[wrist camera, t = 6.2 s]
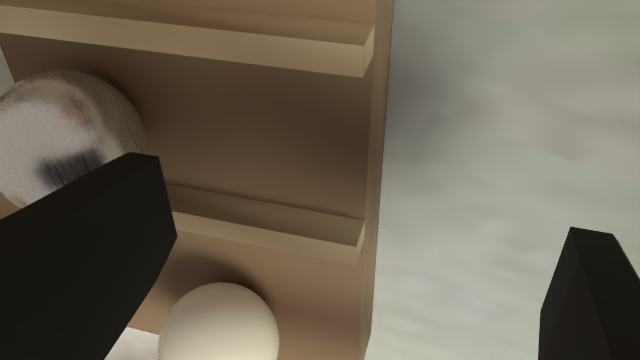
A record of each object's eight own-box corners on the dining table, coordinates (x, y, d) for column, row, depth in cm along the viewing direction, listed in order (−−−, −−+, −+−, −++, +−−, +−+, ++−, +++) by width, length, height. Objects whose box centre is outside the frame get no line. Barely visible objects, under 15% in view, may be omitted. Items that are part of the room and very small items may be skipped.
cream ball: (297, 343, 17) (259, 444, 15) (200, 320, 18) (148, 412, 15) (292, 271, 15) (247, 374, 13) (183, 248, 16) (121, 341, 13)
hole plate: (370, 332, 19) (350, 411, 17) (-22, 242, 23) (-80, 298, 20) (426, -470, 8) (385, -546, 6) (-371, -394, 11) (-584, -421, 9)
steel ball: (187, 197, 13) (60, 276, 11) (111, 145, 15) (-11, 207, 13) (160, 74, 11) (0, 147, 9) (75, 30, 13) (-74, 85, 11)
